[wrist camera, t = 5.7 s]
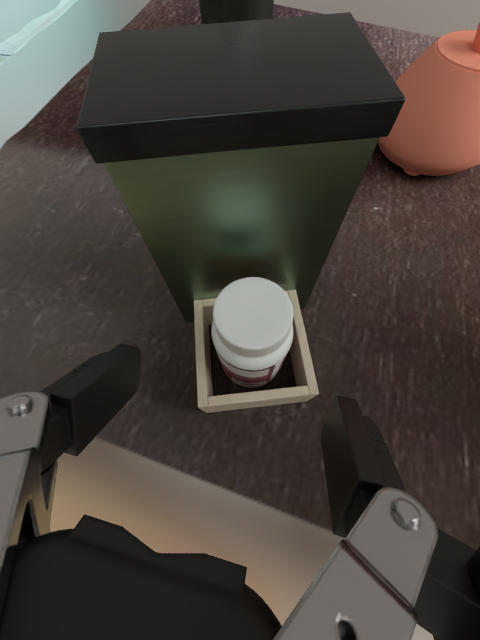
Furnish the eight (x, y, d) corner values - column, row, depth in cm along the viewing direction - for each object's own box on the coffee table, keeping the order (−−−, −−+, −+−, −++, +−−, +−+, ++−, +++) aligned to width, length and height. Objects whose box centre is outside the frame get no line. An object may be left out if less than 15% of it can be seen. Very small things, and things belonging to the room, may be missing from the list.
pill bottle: (251, 318, 22) (254, 254, 14) (294, 359, 20) (322, 312, 13) (207, 356, 21) (185, 307, 13) (249, 402, 19) (251, 379, 12)
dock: (307, 401, 19) (319, 393, 16) (205, 413, 19) (197, 407, 16) (288, 310, 22) (296, 289, 19) (201, 320, 22) (193, 299, 19)
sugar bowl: (346, 130, 32) (388, 3, 23) (449, 108, 33) (528, -20, 24) (399, 200, 27) (480, 75, 18) (517, 172, 28) (649, 41, 19)
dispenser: (307, 310, 22) (407, 98, 8) (183, 324, 22) (75, 127, 8) (292, 250, 25) (350, 11, 11) (182, 261, 25) (98, 32, 11)
